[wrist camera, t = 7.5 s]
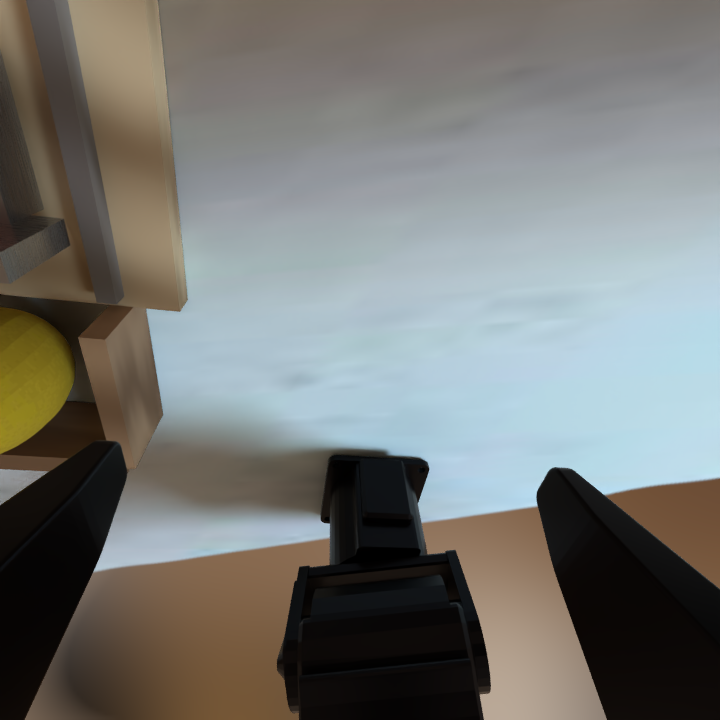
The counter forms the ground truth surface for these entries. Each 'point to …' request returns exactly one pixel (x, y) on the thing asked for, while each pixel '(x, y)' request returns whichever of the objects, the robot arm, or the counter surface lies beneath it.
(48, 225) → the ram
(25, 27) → the wooden board with rails
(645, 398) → the counter surface
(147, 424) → the open wooden crate
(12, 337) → the lemon
